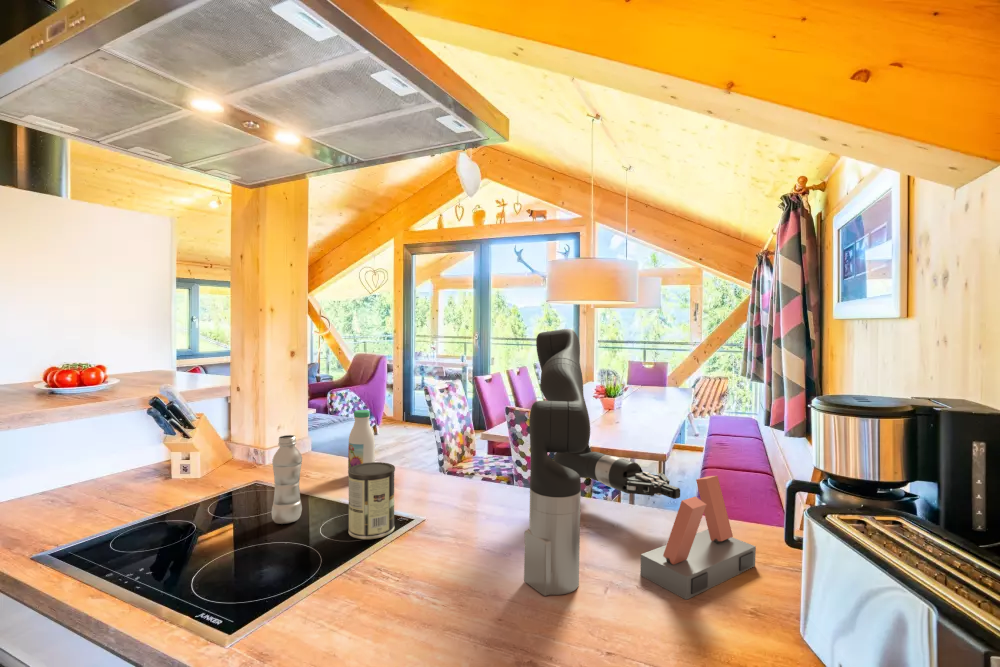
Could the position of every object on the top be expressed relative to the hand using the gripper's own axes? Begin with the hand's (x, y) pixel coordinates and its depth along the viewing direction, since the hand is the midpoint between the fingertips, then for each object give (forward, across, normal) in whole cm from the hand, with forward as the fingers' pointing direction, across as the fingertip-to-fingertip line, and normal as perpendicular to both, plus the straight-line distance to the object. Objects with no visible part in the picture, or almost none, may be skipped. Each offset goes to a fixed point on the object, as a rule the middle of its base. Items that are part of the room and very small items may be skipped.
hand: (678, 493), depth 110 cm
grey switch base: (+10, -8, +10) cm, 17 cm away
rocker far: (+10, 0, +6) cm, 12 cm away
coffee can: (-42, -54, +11) cm, 69 cm away
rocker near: (+10, -15, +6) cm, 19 cm away
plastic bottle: (-57, -69, +11) cm, 90 cm away
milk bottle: (-81, -43, +11) cm, 92 cm away
